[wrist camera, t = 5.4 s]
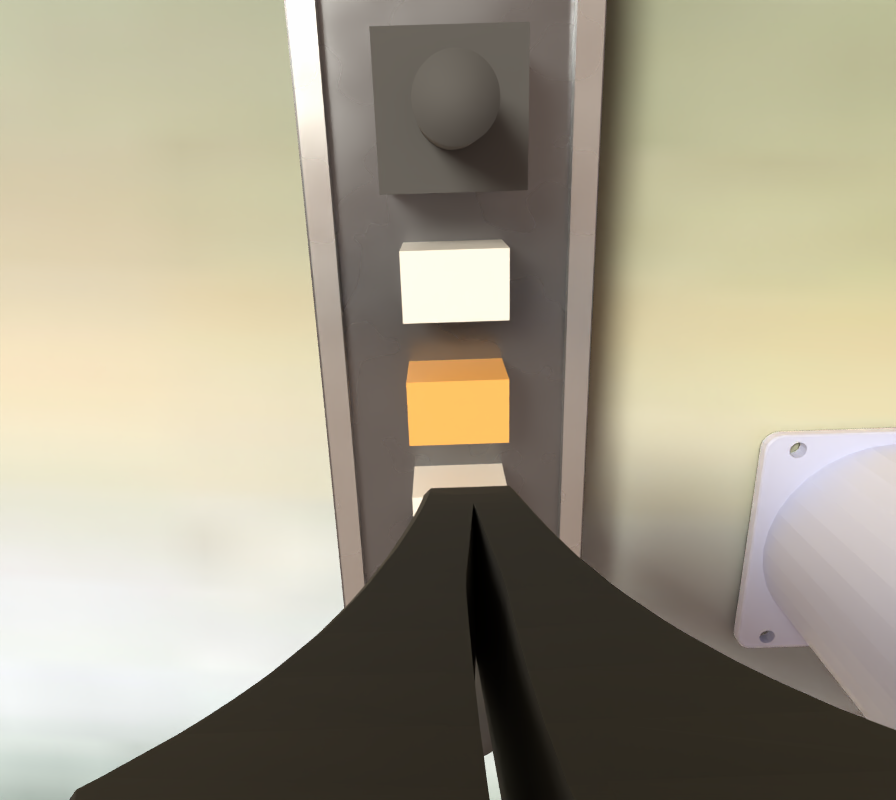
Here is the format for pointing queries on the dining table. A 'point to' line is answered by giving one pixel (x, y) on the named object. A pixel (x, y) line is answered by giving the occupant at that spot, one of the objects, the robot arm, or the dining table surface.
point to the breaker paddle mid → (457, 402)
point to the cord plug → (451, 107)
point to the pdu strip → (448, 219)
